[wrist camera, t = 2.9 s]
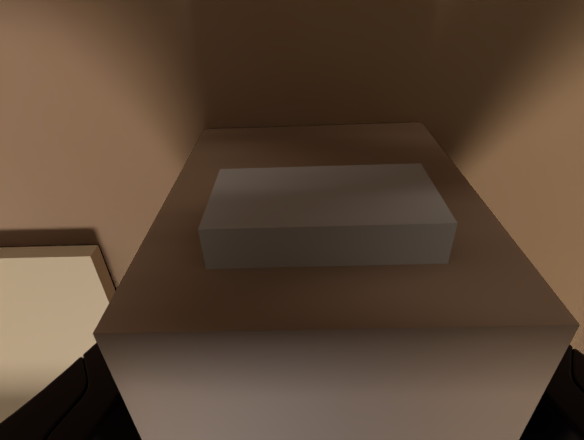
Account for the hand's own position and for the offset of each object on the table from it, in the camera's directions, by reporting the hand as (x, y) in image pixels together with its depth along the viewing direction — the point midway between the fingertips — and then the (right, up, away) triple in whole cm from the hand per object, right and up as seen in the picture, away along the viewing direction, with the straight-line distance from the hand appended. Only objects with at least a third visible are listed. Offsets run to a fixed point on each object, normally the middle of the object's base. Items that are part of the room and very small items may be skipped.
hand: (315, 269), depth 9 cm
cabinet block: (0, +1, +1) cm, 2 cm away
